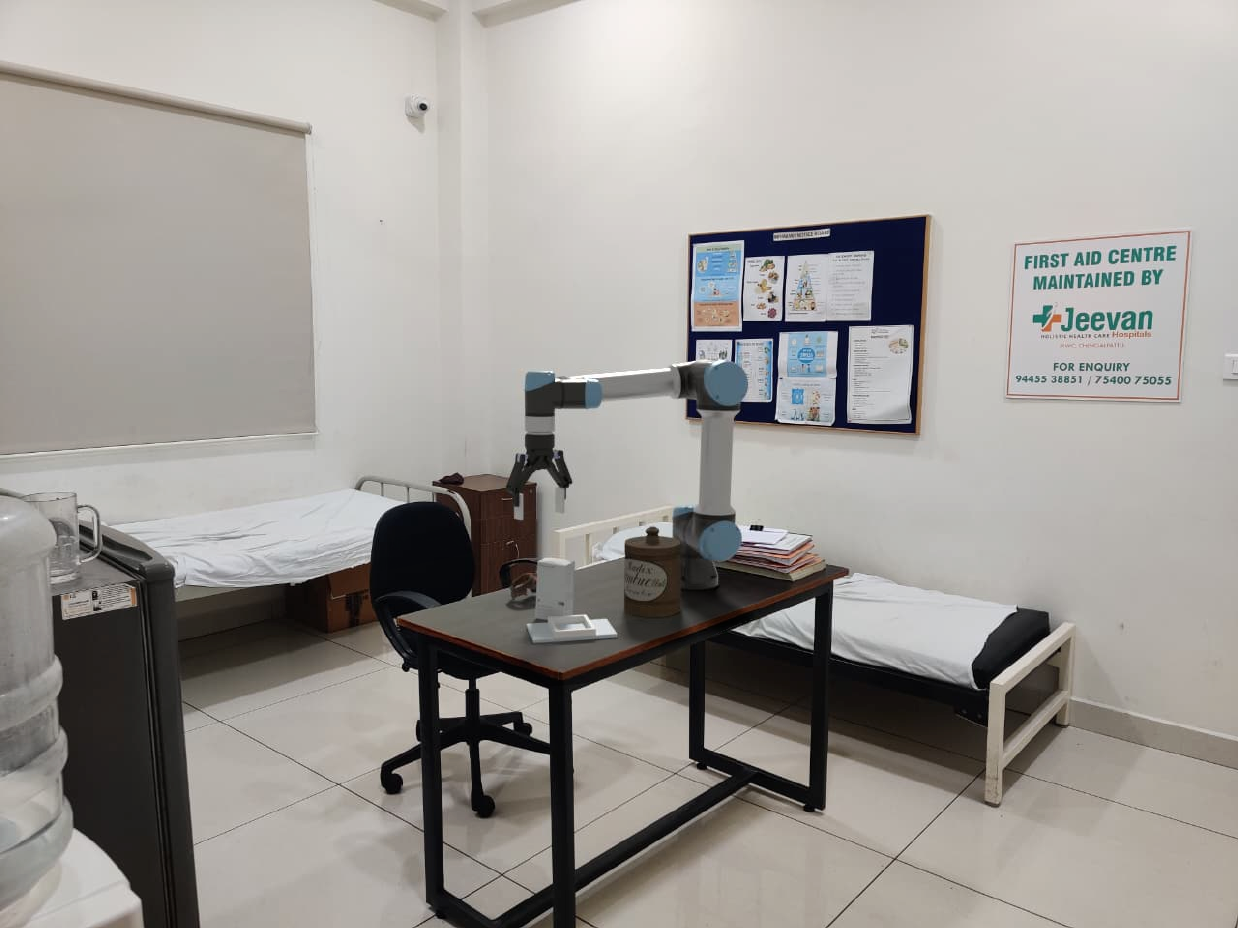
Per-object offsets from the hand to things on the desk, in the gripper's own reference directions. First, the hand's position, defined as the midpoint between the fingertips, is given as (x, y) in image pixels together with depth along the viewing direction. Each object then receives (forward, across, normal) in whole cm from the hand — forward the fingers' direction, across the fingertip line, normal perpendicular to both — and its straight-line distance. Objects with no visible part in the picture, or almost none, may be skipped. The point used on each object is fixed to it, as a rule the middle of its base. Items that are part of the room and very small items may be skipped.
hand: (539, 516), depth 226 cm
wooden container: (+25, -23, +19) cm, 39 cm away
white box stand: (+25, +5, +18) cm, 31 cm away
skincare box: (+25, 0, +6) cm, 26 cm away
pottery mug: (+26, -6, -11) cm, 28 cm away
